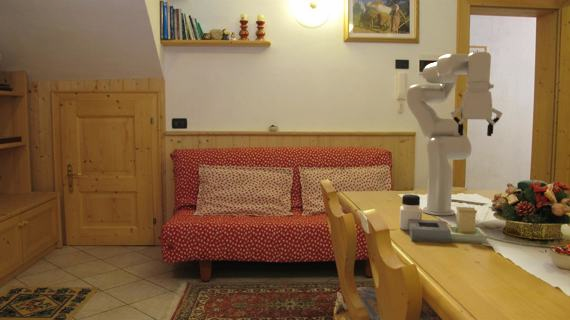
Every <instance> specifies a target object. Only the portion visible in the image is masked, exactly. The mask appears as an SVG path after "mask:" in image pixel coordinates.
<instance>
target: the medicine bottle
mask: <svg viewBox="0 0 570 320" xmlns="http://www.w3.org/2000/svg"><path fill="white" fill-rule="evenodd" d="M401 198H402V200H401V201H402V203H401V205H400V206H399V221H398V222H399V230H405V231H406V230H407V231H408V219H416V220H422V217H423V216H422V215H423V214H422V212H423V210H421V206H420V205H421V203H420V202H421V197H420V196H419V195H417V194H413V193H407V194H406V193H405V194H403V195H402V197H401Z"/></svg>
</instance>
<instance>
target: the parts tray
mask: <svg viewBox="0 0 570 320" xmlns="http://www.w3.org/2000/svg"><path fill="white" fill-rule="evenodd" d="M447 226H448V228H449V229H450V230H451V237H450V242H456V243H457V242H460V243H461V242H462V243H463V242H464V243H472V244H473V243H474V244H475V243H476V244H487V238H488V237H487V235H486V234H485V233H484V231H483V230H482V229H481V228H480V227H476V226H475V234H457V233H456V225H455V226H453V225H447Z"/></svg>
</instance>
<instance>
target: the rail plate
mask: <svg viewBox="0 0 570 320" xmlns="http://www.w3.org/2000/svg"><path fill="white" fill-rule="evenodd" d="M448 226H449V225H447V223H446V222H445V221H444V220H434V219H421V220H416V219H408V230H407V231H408V235H409V237H410V241H411V242H425V243H438V244H439V243H441V244H442V243H443V244H451V241H450V237H451V230H450V229H449V228H448Z"/></svg>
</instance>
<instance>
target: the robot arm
mask: <svg viewBox="0 0 570 320" xmlns="http://www.w3.org/2000/svg"><path fill="white" fill-rule="evenodd" d="M491 62H492V56H491V53H490V52H487V51H474V52H471V53H448V54H445V55H441V56H440V57H439V58H438V59H437V61H435V62H431V63H429V64H427V65H426V66H425V67H424V68H423V70H422V73H421V74H422V75H421V76H422V78H423V80H425V82H427V83H417V84H413V85H411V86H410V87H409V88H408V89H407V91H406V102H407V105H408V109H409V111H410V112H411V113H412V115H413V116H414V118H415V119H416V121H417V123H418V126H419V128H420V130H421V131H422V132H421V133H422V134H423V136H424V137H425V139H426V140H428V142H427V143H426V150H427V151H426V152H427V160H428V168H427V169H428V172H427V173H428V175H427V176H428V177H427V192H426V194H427V195H426V197H427V198H426V207H423V208H422V212H423V213H425V214H427V215H433V216H452V215H454V214H455V210H454V209H452V192H453V176H454V175H453V172H454V171H453V168H452V166H451V164H450V163H449V161H451V160H452V161H455V160H458V161H459V160H466V159H467V158H469V157H470V156H471V153H472V144H471V142H470V139H469V137H468V135H467V133H466V132H465V131H466V130H464V124H463V123H464V122H465V121H466V120H484V121H485V120H486V121H487V122H488V125H487V131H486V132H487V133H486V136H487V137H492V135H493V134H494V126H495V124H496V123H498V122H499V120H500V119H501V117H502V116H503V112H502V111H499V110H497V109H496V108H494V107H493V97H492V92H491V91H490V90H491V89H494V84H492V83H490V78H491ZM459 75H463V76H464V75H465V76H466V89H465V91H463V94H462V98H461V105H460V107H459V108H457V109H454V110H453V111H451V112H450V115H451V116H452V118H443V117H442V118H441V117H439V116H438V114H437V112H436V110H435V109H434V108H433V107H432V106H430V105H429V104H444V103H445V102H446V101H447V100H448V99H449V96H450V95H451V93H452V91H453V89H454V87H455V85H456V83H457V82H458V78H459ZM458 113H460V114H459V116H460V118H458V116H457V114H458ZM493 113H494V114H495V117H494V118H492V117H493Z"/></svg>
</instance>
